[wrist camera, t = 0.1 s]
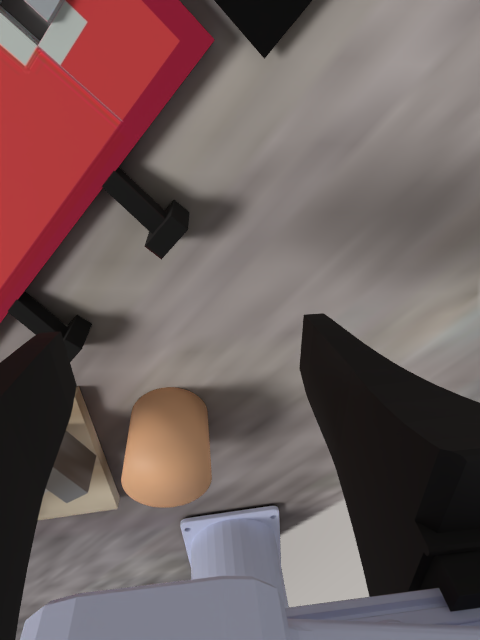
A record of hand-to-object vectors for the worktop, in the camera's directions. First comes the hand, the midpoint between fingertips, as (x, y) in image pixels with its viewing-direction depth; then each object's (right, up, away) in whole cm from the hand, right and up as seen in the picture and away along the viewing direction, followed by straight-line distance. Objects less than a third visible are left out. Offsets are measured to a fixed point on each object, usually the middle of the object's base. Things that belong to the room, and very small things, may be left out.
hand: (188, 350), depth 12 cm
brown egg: (-3, -5, +15) cm, 16 cm away
